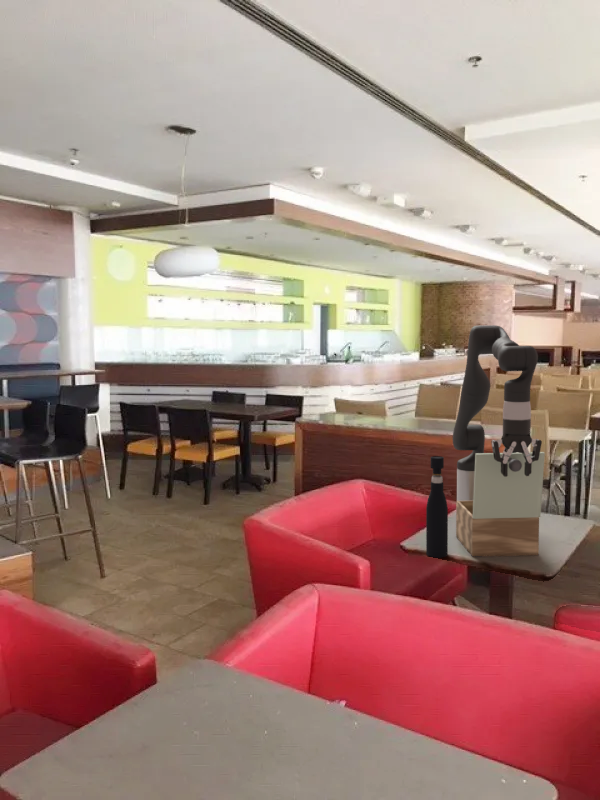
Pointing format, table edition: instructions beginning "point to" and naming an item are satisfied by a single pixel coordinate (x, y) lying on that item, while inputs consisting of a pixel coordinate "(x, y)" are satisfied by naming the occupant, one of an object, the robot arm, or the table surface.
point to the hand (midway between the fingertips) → (515, 475)
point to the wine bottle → (437, 513)
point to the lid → (507, 487)
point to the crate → (496, 533)
